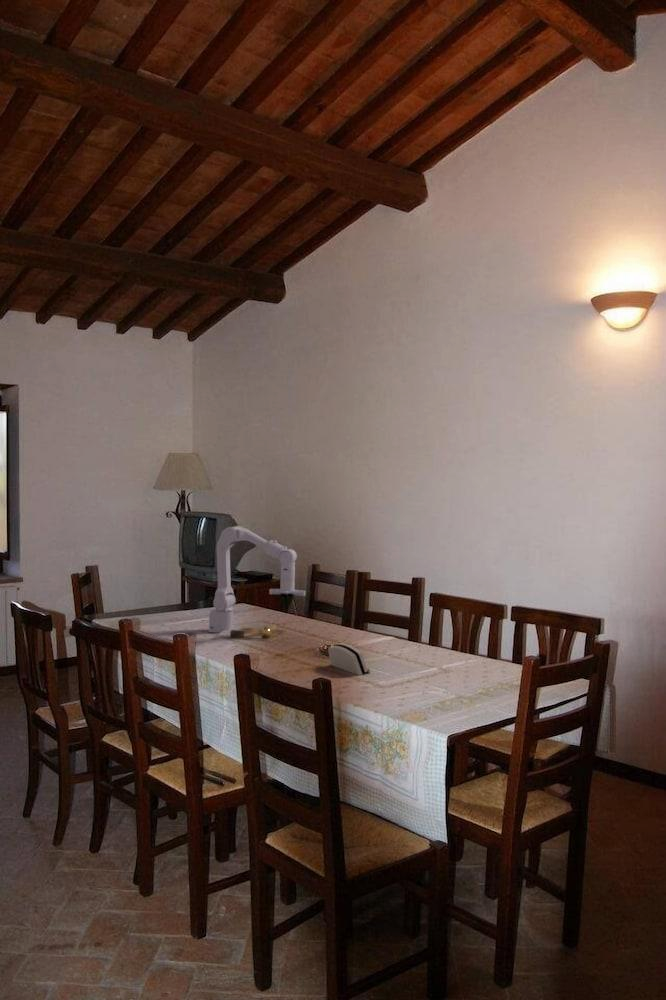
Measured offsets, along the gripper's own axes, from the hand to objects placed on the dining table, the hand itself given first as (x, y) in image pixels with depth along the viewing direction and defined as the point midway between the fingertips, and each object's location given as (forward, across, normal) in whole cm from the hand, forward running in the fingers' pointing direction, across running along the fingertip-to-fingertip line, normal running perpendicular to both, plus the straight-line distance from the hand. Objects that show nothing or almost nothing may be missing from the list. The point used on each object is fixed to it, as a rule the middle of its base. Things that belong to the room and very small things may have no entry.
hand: (286, 612), depth 338 cm
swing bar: (+8, -6, -3) cm, 11 cm away
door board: (+10, -11, -4) cm, 15 cm away
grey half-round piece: (+10, +32, -46) cm, 57 cm away
